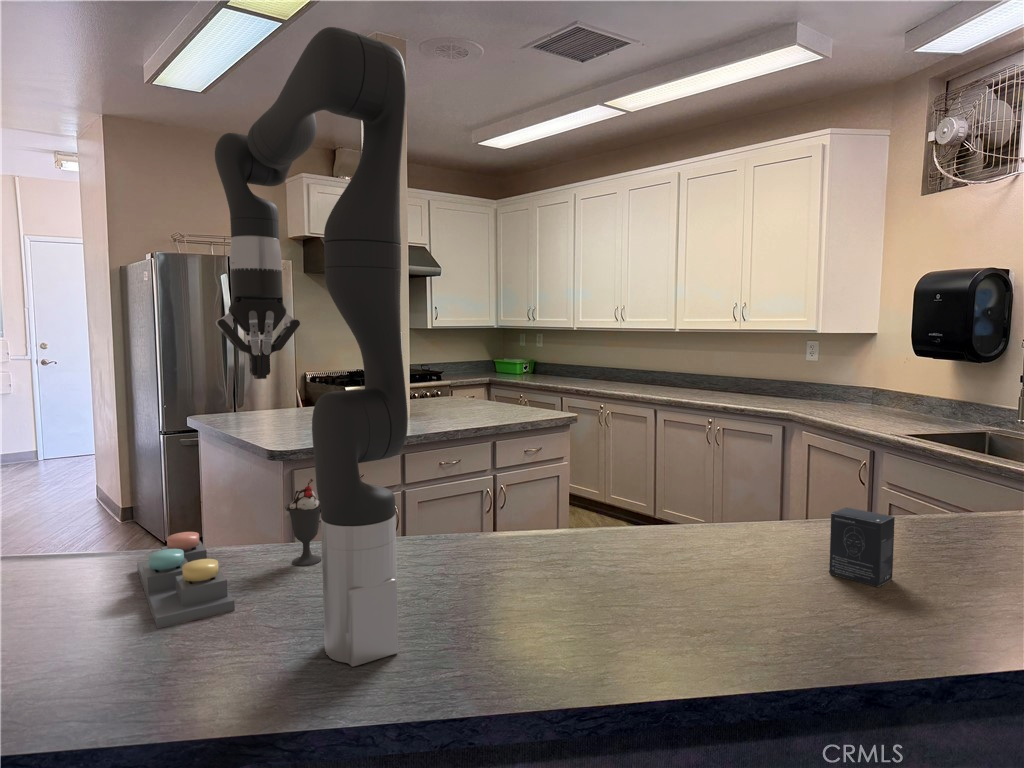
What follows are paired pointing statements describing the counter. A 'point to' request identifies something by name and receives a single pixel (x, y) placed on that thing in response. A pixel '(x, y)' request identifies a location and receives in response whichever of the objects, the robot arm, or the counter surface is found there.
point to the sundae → (305, 523)
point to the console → (183, 592)
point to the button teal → (166, 559)
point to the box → (862, 546)
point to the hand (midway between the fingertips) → (260, 378)
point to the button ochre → (200, 570)
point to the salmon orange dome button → (183, 541)
